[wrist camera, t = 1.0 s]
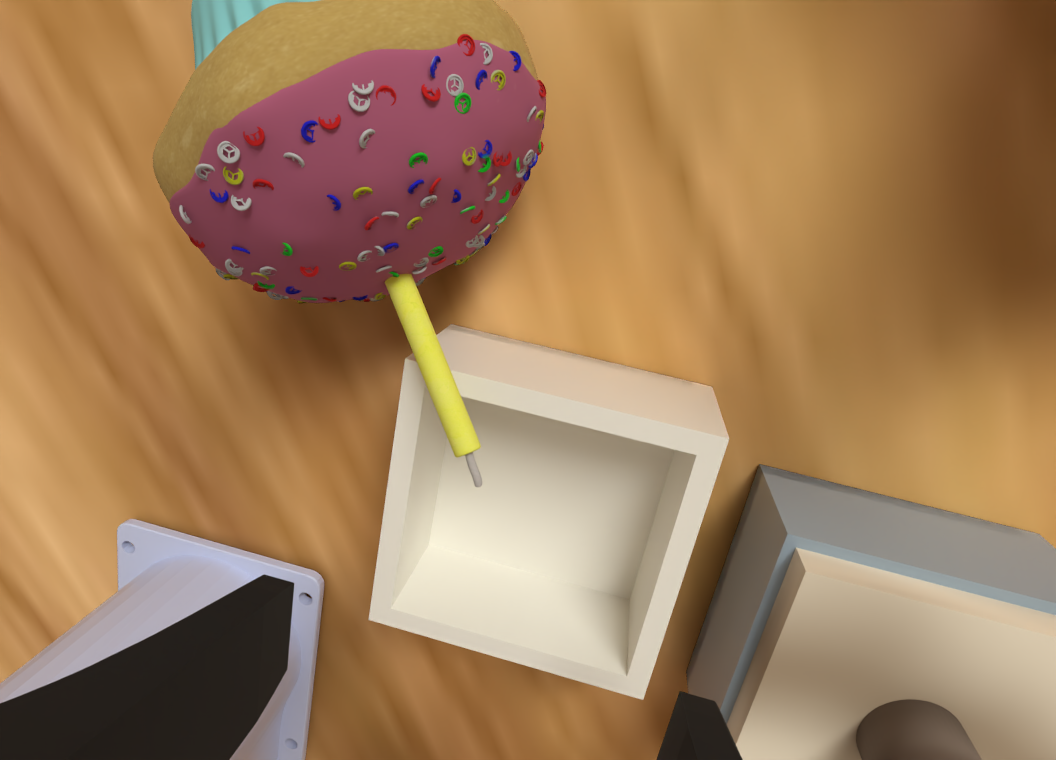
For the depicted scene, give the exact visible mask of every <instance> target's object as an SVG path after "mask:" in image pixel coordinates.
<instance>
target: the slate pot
mask: <svg viewBox="0 0 1056 760" xmlns="http://www.w3.org/2000/svg"><path fill="white" fill-rule="evenodd" d="M796 548H800V549H804V550H808V551H812V552H816V553H819V554H823V555H827V556H831V557H835V558H839V559H842V560H846V561H850V562H854V563H858V564H862V565H865V566H869V567H873V568H877V569H881V570H884V571H888V572H892V573H896V574H900V575H904V576H907V577H911V578H915V579H919V580H923V581H927V582H930V583H934V584H938V585H942V586H946V587H950V588H953V589H957V590H961V591H965V592H969V593H973V594H976V595H980V596H984V597H988V598H992V599H995V600H999V601H1003V602H1007V603H1011V604H1015V605H1018V606H1022V607H1026V608H1030V609H1034V610H1038V611H1041V612H1045V613H1049V614H1053V615H1056V549H1055V548H1054V547H1053V546H1052V545H1051V544H1050V543H1049V542H1047V541H1046V540H1045V539H1044V538H1043V537H1042V536H1041V535H1040V534H1037V533H1033V532H1029V531H1025V530H1021V529H1017V528H1013V527H1009V526H1005V525H1001V524H997V523H993V522H989V521H985V520H981V519H977V518H973V517H969V516H965V515H961V514H957V513H953V512H949V511H945V510H941V509H937V508H933V507H929V506H925V505H921V504H917V503H913V502H909V501H905V500H901V499H897V498H893V497H889V496H885V495H881V494H877V493H873V492H869V491H865V490H861V489H857V488H853V487H849V486H845V485H841V484H837V483H833V482H829V481H825V480H821V479H817V478H813V477H809V476H805V475H801V474H797V473H793V472H789V471H785V470H781V469H777V468H773V467H769V466H765V465H761V464H759V467H758V470H757V473H756V475H755V478H754V481H753V484H752V487H751V490H750V492H749V495H748V498H747V501H746V504H745V507H744V509H743V512H742V515H741V518H740V521H739V524H738V526H737V529H736V532H735V535H734V538H733V541H732V544H731V546H730V549H729V552H728V555H727V558H726V561H725V563H724V566H723V569H722V572H721V575H720V578H719V580H718V583H717V586H716V589H715V592H714V595H713V597H712V600H711V603H710V606H709V609H708V612H707V615H706V617H705V620H704V623H703V626H702V629H701V632H700V634H699V637H698V640H697V643H696V646H695V649H694V651H693V654H692V657H691V660H690V663H689V666H688V668H687V671H686V674H687V685H688V694H692V695H695V696H699V697H702V698H706V699H709V700H713V701H715V702H716V704H717V705H718V707H719V709H720V711H721V713H722V715H723V718H724V720H725V722H726V724H727V722H728V720H729V717H730V715H731V712H732V710H733V707H734V704H735V702H736V699H737V697H738V694H739V692H740V689H741V687H742V684H743V682H744V679H745V676H746V674H747V671H748V669H749V666H750V664H751V661H752V659H753V656H754V653H755V651H756V648H757V646H758V643H759V641H760V638H761V636H762V633H763V630H764V628H765V625H766V623H767V620H768V618H769V615H770V613H771V610H772V608H773V605H774V602H775V600H776V597H777V595H778V592H779V590H780V587H781V585H782V582H783V579H784V577H785V574H786V572H787V569H788V567H789V564H790V562H791V559H792V557H793V554H794V551H795V549H796Z"/></svg>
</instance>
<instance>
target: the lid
mask: <svg viewBox="0 0 1056 760" xmlns="http://www.w3.org/2000/svg"><path fill="white" fill-rule="evenodd" d="M727 727H728V729H729V731H730V733H731V735H732V738H733V740H734V742H735V744H736V746H737V749H738V751H739V753H740V755H741V757H742V759H743V760H1056V615H1053V614H1049V613H1045V612H1041V611H1038V610H1034V609H1030V608H1026V607H1022V606H1018V605H1015V604H1011V603H1007V602H1003V601H999V600H995V599H992V598H988V597H984V596H980V595H976V594H973V593H969V592H965V591H961V590H957V589H953V588H950V587H946V586H942V585H938V584H934V583H930V582H927V581H923V580H919V579H915V578H911V577H907V576H904V575H900V574H896V573H892V572H888V571H884V570H881V569H877V568H873V567H869V566H865V565H862V564H858V563H854V562H850V561H846V560H842V559H839V558H835V557H831V556H827V555H823V554H819V553H816V552H812V551H808V550H804V549H800V548H796V549H795V551H794V554H793V557H792V559H791V562H790V564H789V567H788V569H787V572H786V574H785V577H784V579H783V582H782V585H781V587H780V590H779V592H778V595H777V597H776V600H775V602H774V605H773V608H772V610H771V613H770V615H769V618H768V620H767V623H766V625H765V628H764V630H763V633H762V636H761V638H760V641H759V643H758V646H757V648H756V651H755V653H754V656H753V659H752V661H751V664H750V666H749V669H748V671H747V674H746V676H745V679H744V682H743V684H742V687H741V689H740V692H739V694H738V697H737V699H736V702H735V704H734V707H733V710H732V712H731V715H730V717H729V720H728V722H727Z"/></svg>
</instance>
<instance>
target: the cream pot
mask: <svg viewBox="0 0 1056 760" xmlns="http://www.w3.org/2000/svg"><path fill="white" fill-rule="evenodd" d="M436 336H437V338H438V341H439V343H440V346H441V348H442V351H443V353H444V356H445V358H446V361H447V363H448V366H449V368H450V370H451V373H452V375H453V378H454V380H455V383H456V385H457V388H458V390H459V393H460V395H461V398H462V400H463V403H464V405H465V407H466V410H467V412H468V415H469V417H470V420H471V422H472V425H473V427H474V430H475V432H476V435H477V437H478V440H479V442H480V445H481V448H480V449H478V450H476V451H474V452H473V454H474V458H475V461H476V464H477V467H478V469H479V472H480V474H481V478H482V486H481V487H475V485H474V481H473V478H472V475H471V473H470V470H469V467H468V464H467V461H466V457H465V455H464V456H461V457H458V458H457V457H455V455H454V453H453V450H452V448H451V445H450V443H449V440H448V438H447V435H446V433H445V431H444V428H443V426H442V423H441V421H440V418H439V416H438V413H437V411H436V408H435V406H434V403H433V401H432V398H431V396H430V393H429V391H428V388H427V386H426V383H425V381H424V379H423V376H422V374H421V371H420V369H419V366H418V364H417V361H416V359H415V356H414V354H413V353H412V354H411V355H409V356H408V357H407V358H405V363H404V370H403V378H402V385H401V392H400V399H399V406H398V413H397V421H396V428H395V435H394V442H393V449H392V456H391V463H390V471H389V478H388V485H387V492H386V499H385V506H384V514H383V521H382V528H381V535H380V542H379V549H378V556H377V564H376V571H375V578H374V585H373V592H372V599H371V606H370V614H369V620H371V621H374V622H378V623H381V624H385V625H388V626H391V627H395V628H398V629H402V630H405V631H409V632H412V633H415V634H419V635H422V636H426V637H429V638H433V639H436V640H439V641H443V642H446V643H450V644H453V645H457V646H460V647H463V648H467V649H470V650H474V651H477V652H481V653H484V654H487V655H491V656H494V657H498V658H501V659H504V660H508V661H511V662H515V663H518V664H522V665H525V666H528V667H532V668H535V669H539V670H542V671H546V672H549V673H552V674H556V675H559V676H563V677H566V678H570V679H573V680H576V681H580V682H583V683H587V684H590V685H594V686H597V687H600V688H604V689H607V690H611V691H614V692H618V693H621V694H624V695H628V696H631V697H635V698H638V699H642V700H643V699H644V696H645V693H646V690H647V687H648V684H649V681H650V678H651V674H652V671H653V668H654V665H655V662H656V659H657V656H658V653H659V650H660V647H661V644H662V641H663V638H664V635H665V632H666V629H667V626H668V623H669V620H670V617H671V614H672V611H673V608H674V605H675V602H676V599H677V596H678V593H679V590H680V587H681V584H682V581H683V578H684V574H685V571H686V568H687V565H688V562H689V559H690V556H691V553H692V550H693V547H694V544H695V541H696V538H697V535H698V532H699V529H700V526H701V523H702V520H703V517H704V514H705V511H706V508H707V505H708V502H709V499H710V496H711V493H712V490H713V487H714V484H715V481H716V477H717V474H718V471H719V468H720V465H721V462H722V459H723V456H724V453H725V450H726V447H727V444H728V441H729V436H728V433H727V430H726V427H725V424H724V421H723V418H722V415H721V412H720V409H719V406H718V403H717V400H716V397H715V394H714V391H713V388H712V386H707V385H703V384H699V383H695V382H691V381H687V380H682V379H678V378H674V377H670V376H666V375H662V374H657V373H653V372H649V371H645V370H641V369H636V368H632V367H628V366H624V365H620V364H616V363H611V362H607V361H603V360H599V359H595V358H591V357H586V356H582V355H578V354H574V353H570V352H565V351H561V350H557V349H553V348H549V347H545V346H540V345H536V344H532V343H528V342H524V341H519V340H515V339H511V338H507V337H503V336H499V335H494V334H490V333H486V332H482V331H478V330H474V329H469V328H465V327H461V326H457V325H453V324H451V325H449V326H448V327H447V328H445V329H444V330H443V331H441V332H440V333H439V334H437V335H436Z"/></svg>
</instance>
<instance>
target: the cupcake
mask: <svg viewBox="0 0 1056 760" xmlns="http://www.w3.org/2000/svg"><path fill="white" fill-rule="evenodd" d="M191 18H192V30H193V40H194V51H195V71H194V73H193V74H192V76H191V78H190V80H189V82H188V84H187V86H186V87H185V89H184V91H183V93H182V95H181V97H180V98H179V100H178V102H177V104H176V106H175V108H174V110H173V112H172V114H171V116H170V118H169V120H168V122H167V124H166V126H165V128H164V130H163V132H162V134H161V136H160V138H159V140H158V142H157V144H156V147H155V150H154V153H153V168H154V172H155V176H156V178H157V181H158V183H159V185H160V187H161V189H162V191H163V193H164V195H165V196H166V198H167V200H168V201H169V203H170V209H171V211H172V214H173V215H174V217H175V219H176V220H177V222H178V223H179V225H180V226H181V227H182V229H183V230H184V231H185V232H186V234H187V235H188V236H189V238H190V240H191V242H192V243H193V244H194V245H195V246H196V247H198V248H199V249H200V250H201V251H202V252H203V254H204V255H205V256H206V257H207V258H208V260H209V261H210V263H211V264H212V265H213V266H214V267H216V272H217V273H218V275H219V276H220V277H222V278H223V279H225V280H230V279H240V280H242V281H245V282H247V283H249V284H252V285H253V290H256V291H258V292H267V294H268V296H269V297H270V298H272V299H275V300H280V299H282V298H283V299H288V298H292V299H296V300H297V302H298V303H306V302H310V303H328V302H335V301H339V302H342V301H345V300H350V299H353V300H358V301H364V302H369V301H379V300H381V299H383V298H384V297H385V296H388V295H390V297H391V299H392V302H393V304H394V307H395V309H396V312H397V314H398V317H399V319H400V322H401V324H402V327H403V329H404V331H405V334H406V336H407V339H408V341H409V344H410V346H411V349H412V351H413V354H414V356H415V359H416V361H417V364H418V366H419V369H420V371H421V374H422V376H423V379H424V381H425V383H426V386H427V388H428V391H429V393H430V396H431V398H432V401H433V403H434V406H435V408H436V411H437V413H438V416H439V418H440V421H441V423H442V426H443V428H444V431H445V433H446V435H447V438H448V440H449V443H450V445H451V448H452V450H453V453H454V455H455V457H457V458H458V457H461V456H464V455H465V457H466V461H467V464H468V467H469V470H470V473H471V475H472V478H473V481H474V485H475V487H481V486H482V478H481V474H480V472H479V469H478V467H477V464H476V461H475V458H474V454H473V452H474V451H476V450H478V449H480V448H481V445H480V442H479V440H478V437H477V435H476V432H475V430H474V427H473V425H472V422H471V420H470V417H469V415H468V412H467V410H466V407H465V405H464V403H463V400H462V398H461V395H460V393H459V390H458V388H457V385H456V383H455V380H454V378H453V375H452V373H451V370H450V368H449V366H448V363H447V361H446V358H445V356H444V353H443V351H442V348H441V346H440V343H439V341H438V338H437V336H436V333H435V331H434V328H433V326H432V324H431V321H430V319H429V316H428V314H427V311H426V309H425V306H424V304H423V301H422V299H421V296H420V294H419V291H418V289H417V287H416V286H418V285H420V284H421V283H422V282H423V281H424V279H425V278H426V277H427V276H429V275H431V274H433V273H435V272H437V271H439V270H441V269H443V268H445V267H446V266H448V265H450V264H452V263H453V264H454V265H460V264H463V263H465V262H467V261H468V259H469V257H471V256H473V255H474V254H475V253H477V252H478V250H479V249H481V248H482V247H484V246H486V245H487V244H488V243H489V241H490V239H491V234H493V233H495V232H496V231H497V230H498V224H500V223H502V222H503V221H504V220H505V219H506V218H507V217H506V214H507V213H508V212H509V210H510V209H511V208H512V206H513V205H514V203H515V202H516V200H517V198H518V197H519V195H520V193H521V191H522V189H523V187H524V185H525V182H526V181H527V180H528V179H529V176H530V170H531V168H532V167H533V166H534V165H535V164H536V162H537V159H538V155H540V154H541V152H542V150H543V143H542V142H540V138H541V134H542V130H543V128H544V119H545V112H546V97H545V96H546V89H545V86H544V84H543V83H542V82H541V81H540V80H538V77H537V74H536V70H535V67H534V64H533V61H532V58H531V56H530V53H529V50H528V47H527V45H526V42H525V39H524V37H523V35H522V33H521V31H520V29H519V27H518V25H517V24H516V22H515V21H514V20H513V18H512V17H511V16H510V15H509V14H508V13H507V12H506V11H505V10H503V9H501V8H500V7H499V6H498V5H497V4H496V3H495V2H494V1H493V0H193V2H192V12H191ZM534 159H535V160H534ZM487 239H488V240H487ZM465 257H466V258H465ZM459 260H461V261H459ZM221 271H222V272H221ZM223 272H224V273H223ZM221 273H222V274H223V275H222V274H221ZM415 282H417V283H415ZM272 294H274V295H276V296H277V297H276V296H273V295H272ZM366 298H368V299H366ZM369 298H370V299H369Z"/></svg>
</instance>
